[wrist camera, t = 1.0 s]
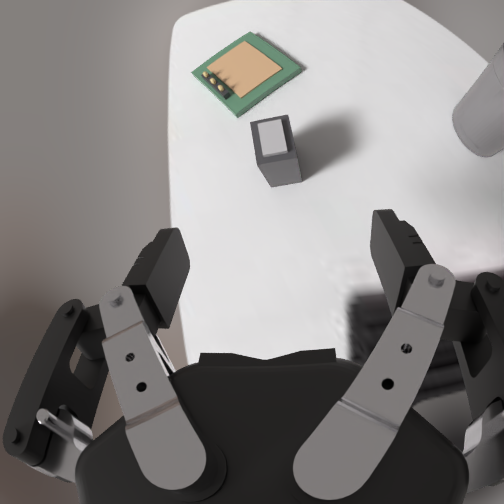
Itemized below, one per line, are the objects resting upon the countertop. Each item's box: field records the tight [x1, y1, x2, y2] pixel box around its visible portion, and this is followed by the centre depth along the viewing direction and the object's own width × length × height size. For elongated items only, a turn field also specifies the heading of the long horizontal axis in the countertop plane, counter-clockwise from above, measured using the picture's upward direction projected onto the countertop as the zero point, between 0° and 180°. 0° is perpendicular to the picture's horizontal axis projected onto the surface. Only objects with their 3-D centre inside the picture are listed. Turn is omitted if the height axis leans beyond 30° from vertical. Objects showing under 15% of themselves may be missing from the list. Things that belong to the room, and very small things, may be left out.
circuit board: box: [191, 32, 301, 118], centre depth 36 cm, size 12×12×3 cm
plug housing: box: [250, 115, 302, 187], centre depth 32 cm, size 4×5×10 cm
